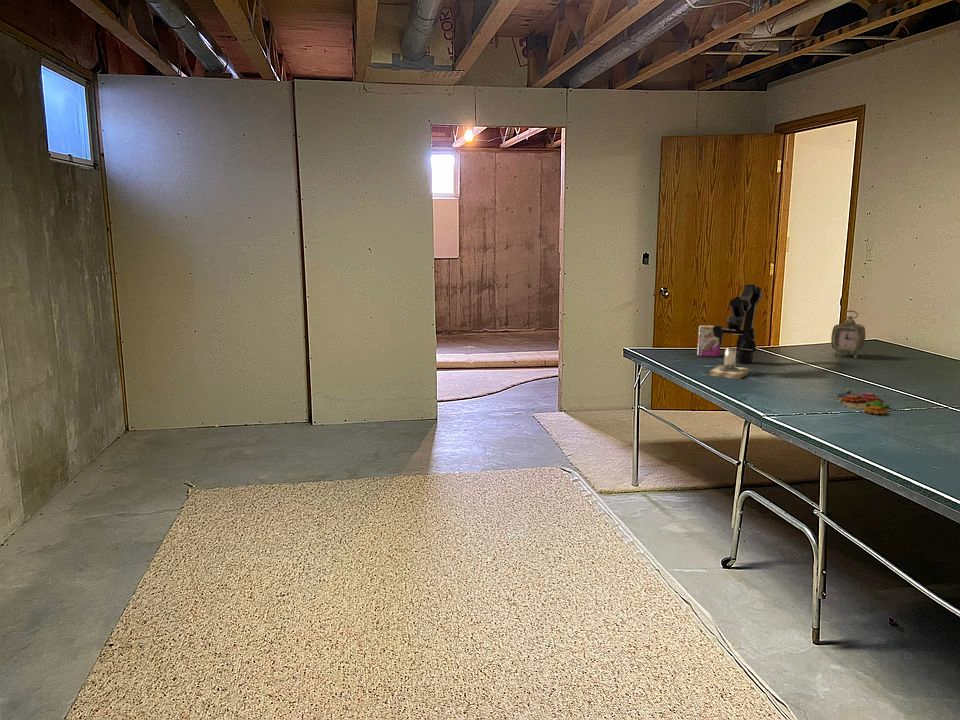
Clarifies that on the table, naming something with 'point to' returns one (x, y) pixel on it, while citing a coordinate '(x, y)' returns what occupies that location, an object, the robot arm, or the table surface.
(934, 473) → the table surface
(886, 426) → the table surface
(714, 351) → the candy bar box
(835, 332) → the tabletop clock
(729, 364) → the canister
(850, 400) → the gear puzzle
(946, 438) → the table surface
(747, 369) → the plinth
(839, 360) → the table surface
